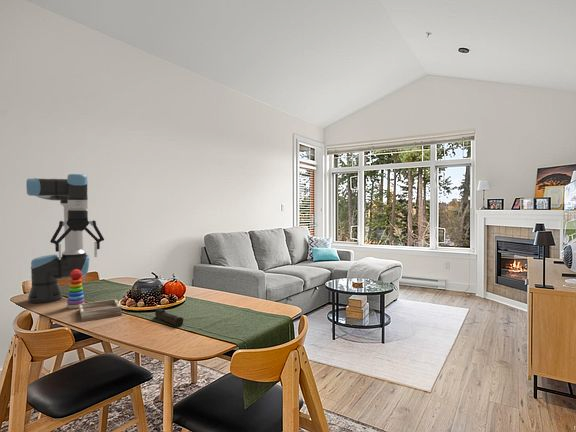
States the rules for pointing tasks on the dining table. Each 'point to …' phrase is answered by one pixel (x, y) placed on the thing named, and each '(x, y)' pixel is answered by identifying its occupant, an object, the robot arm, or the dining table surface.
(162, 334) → the dining table surface
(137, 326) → the dining table surface
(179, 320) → the hand tool
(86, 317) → the grey wooden tray
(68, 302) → the stacking toy
